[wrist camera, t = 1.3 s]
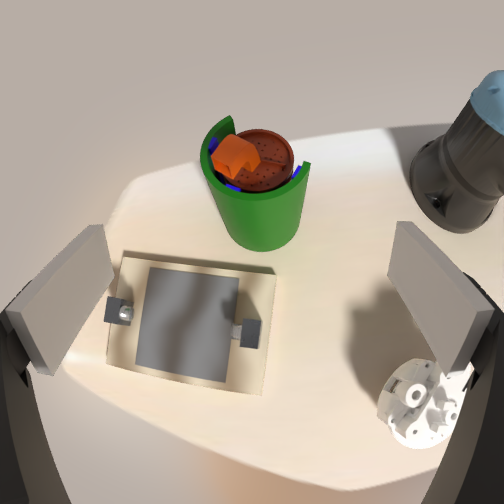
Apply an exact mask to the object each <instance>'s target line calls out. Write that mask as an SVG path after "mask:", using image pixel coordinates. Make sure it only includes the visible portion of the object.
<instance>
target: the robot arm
mask: <svg viewBox="0 0 504 504" xmlns="http://www.w3.org/2000/svg"><path fill="white" fill-rule="evenodd" d="M410 183H411V187H412V191H413V194H414V196H415V199H416V201H417V202H418V204H419V206H420V207H421V209H422V210H423V212H424V213H425V214H426V215H427V216H428V217H429V218H430V219H431V220H432V221H433V222H434V223H435V224H437V225H438V226H440V227H441V228H443V229H445V230H447V231H450V232H453V233H459V234H463V233H469V232H472V231H474V230H475V229H477V228H478V227H480V226H481V225H483V224H484V223H485V222H486V221H487V220H488V218H489V217H490V215H491V213H492V211H493V208H494V206H495V205H496V204H497V202H498V200H499V198H500V197H501V196H503V195H504V70H498V71H493V72H491V73H489V74H488V75H487V76H486V77H485V78H484V79H483V81H482V82H481V83H480V85H479V86H478V87H477V88H475V89H474V90H473V92H472V93H471V97H470V99H469V101H468V102H467V104H466V105H465V107H464V108H463V110H462V111H461V113H460V114H459V116H458V117H457V118H456V120H455V121H454V123H453V124H452V126H451V127H450V129H449V130H448V131H447V133H446V134H444V135H442V136H440V137H438V138H437V139H436V140H433V141H431V142H429V143H427V144H425V145H424V146H423V147H422V148H421V149H420V150H419V152H418V153H417V155H416V156H415V158H414V159H413V161H412V164H411V168H410ZM387 276H388V277H389V279H390V280H391V282H392V283H393V285H394V287H395V288H396V290H397V292H398V293H399V295H400V297H401V298H402V300H403V301H404V303H405V305H406V307H407V308H408V310H409V312H410V313H411V315H412V317H413V318H414V320H415V322H416V324H417V325H418V327H419V329H420V331H421V332H422V334H423V336H424V338H425V340H426V341H427V343H428V345H429V347H430V349H431V351H432V352H433V354H434V356H435V358H436V360H437V362H438V364H439V366H440V368H441V369H442V371H443V373H444V375H445V377H446V378H448V377H453V376H457V375H462V374H463V373H464V371H465V370H466V368H467V366H468V364H469V362H471V363H472V365H473V367H474V368H475V369H474V371H473V372H472V374H471V376H470V378H469V379H468V381H467V383H466V384H465V386H464V388H463V389H462V391H463V392H464V391H465V390H466V388H467V390H466V394H465V397H464V400H463V404H462V407H461V410H460V413H459V416H458V419H457V422H456V425H455V428H454V430H453V433H452V436H451V438H450V441H449V444H448V446H447V449H446V451H445V454H444V456H443V458H442V461H441V463H440V465H439V468H438V470H437V472H436V474H435V477H434V479H433V481H432V483H431V485H430V487H429V490H428V491H427V493H426V495H425V497H424V499H423V501H422V503H421V504H504V313H503V312H502V310H501V309H500V308H499V307H498V306H497V304H496V303H495V302H494V301H493V300H492V299H491V298H490V296H489V295H488V294H486V292H485V291H484V290H483V289H482V288H481V286H480V285H479V284H478V283H477V282H476V281H475V280H474V279H473V278H472V277H470V276H469V275H467V274H466V273H464V272H462V271H461V270H460V269H459V268H458V267H457V266H456V265H455V264H454V263H453V262H452V261H451V260H450V259H449V258H448V257H447V256H446V255H445V254H444V253H443V252H442V251H441V250H440V249H439V247H438V246H437V245H436V244H435V243H433V242H432V241H431V240H430V239H429V238H428V237H427V236H426V235H425V234H424V233H423V232H422V231H421V230H420V229H419V228H418V227H417V226H416V225H415V224H414V223H413V222H406V221H397V226H396V232H395V238H394V243H393V249H392V254H391V259H390V264H389V269H388V274H387ZM114 277H115V276H114V272H113V268H112V263H111V259H110V255H109V250H108V246H107V241H106V237H105V232H104V227H103V224H102V225H89V226H88V227H87V228H85V229H84V230H83V231H82V232H81V233H80V234H79V235H78V236H77V237H76V238H75V239H73V241H71V242H70V243H69V244H68V245H67V246H66V247H65V248H64V249H63V250H62V251H61V252H60V253H59V254H58V255H57V256H56V257H55V258H54V259H53V260H52V261H51V262H50V263H49V264H48V265H47V266H46V267H45V268H44V269H43V270H42V271H41V272H40V273H39V274H38V275H37V276H36V277H35V278H34V279H33V280H31V281H30V282H28V284H27V285H26V286H25V287H24V288H23V289H22V291H20V292H19V293H18V294H17V296H16V297H15V298H14V299H13V300H12V301H11V302H10V303H9V304H8V305H7V306H6V308H5V309H4V310H3V311H2V312H1V313H0V504H71V502H70V500H69V498H68V495H67V493H66V490H65V488H64V485H63V483H62V481H61V478H60V476H59V473H58V470H57V468H56V465H55V462H54V459H53V457H52V454H51V451H50V448H49V445H48V442H47V438H46V435H45V432H44V429H43V425H42V422H41V419H40V414H39V411H38V407H37V403H36V399H35V394H34V390H33V385H32V381H31V376H30V373H29V371H28V370H27V368H26V367H27V365H28V364H29V362H30V361H31V362H32V364H33V366H34V368H35V369H36V371H37V373H41V374H45V375H50V376H54V374H55V372H56V370H57V368H58V367H59V365H60V363H61V361H62V360H63V358H64V356H65V355H66V353H67V351H68V349H69V348H70V346H71V344H72V343H73V341H74V339H75V338H76V336H77V334H78V333H79V331H80V330H81V328H82V326H83V325H84V323H85V322H86V320H87V318H88V317H89V315H90V314H91V312H92V311H93V309H94V307H95V306H96V304H97V303H98V301H99V300H100V298H101V297H102V295H103V294H104V292H105V291H106V289H107V288H108V286H109V285H110V283H111V282H112V280H113V279H114Z"/></svg>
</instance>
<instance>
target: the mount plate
mask: <svg viewBox="0 0 504 504" xmlns="http://www.w3.org/2000/svg"><path fill="white" fill-rule="evenodd" d="M276 279H277V275H271V274H262V273H253V272H244V271H235V270H226V269H218V268H209V267H201V266H193V265H185V264H176V263H168V262H160V261H153V260H145V259H137V258H129V257H123V259H122V264H121V269H120V274H119V279H118V285H117V290H116V296H115V298H120V299H124V300H127V301H131V302H134V306H133V308H134V317H133V319H132V321H131V325H130V326H125V325H117V324H112V323H111V328H110V335H109V343H108V351H107V359H106V364H108V365H112V366H115V367H119V368H123V369H126V370H130V371H134V372H138V373H142V374H146V375H150V376H154V377H158V378H163V379H167V380H172V381H176V382H181V383H186V384H191V385H196V386H202V387H207V388H213V389H219V390H225V391H231V392H237V393H244V394H252V395H259V396H261V395H262V389H263V382H264V375H265V367H266V360H267V352H268V344H269V337H270V329H271V321H272V313H273V305H274V296H275V288H276ZM243 318H246V319H254V320H261V321H262V322H263V324H262V332H261V340H260V347H259V349H252V348H244V347H239V346H240V340H234V339H230V332H231V326H232V324H233V323H234V324H241V325H242V324H243Z"/></svg>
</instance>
